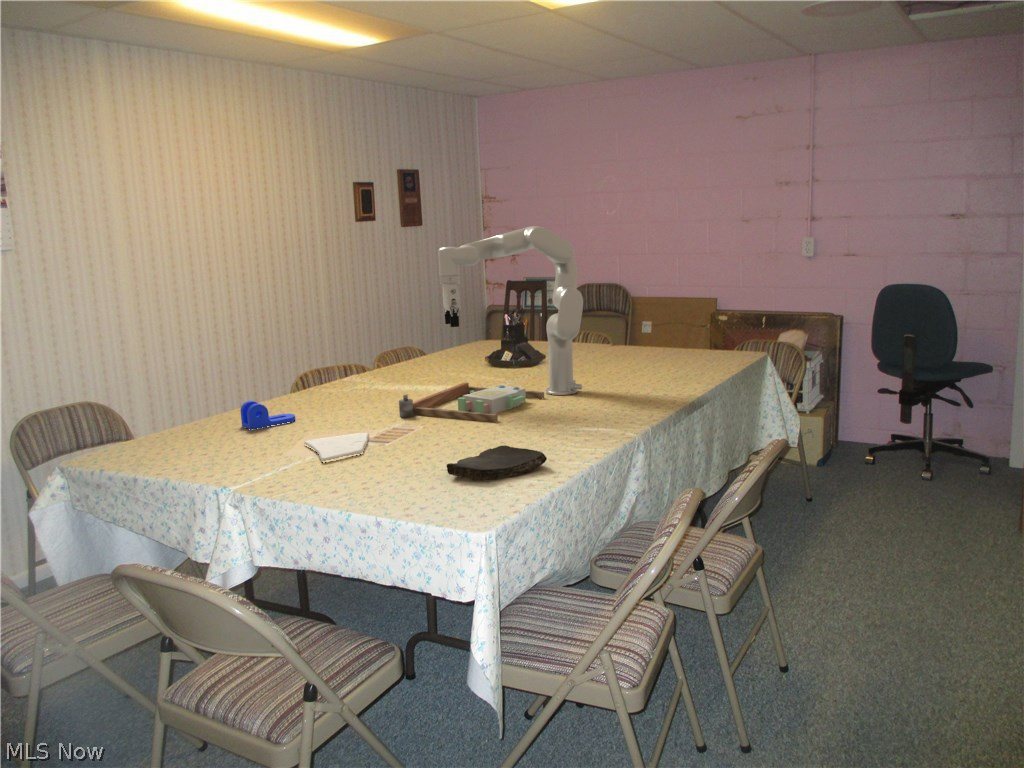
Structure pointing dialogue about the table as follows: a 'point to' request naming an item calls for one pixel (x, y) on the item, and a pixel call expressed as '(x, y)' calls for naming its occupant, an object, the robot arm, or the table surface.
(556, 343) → the robot arm
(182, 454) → the table surface
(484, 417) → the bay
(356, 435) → the flat white fragment
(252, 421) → the bracket
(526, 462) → the stone slab
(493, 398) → the decorative block
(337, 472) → the table surface
